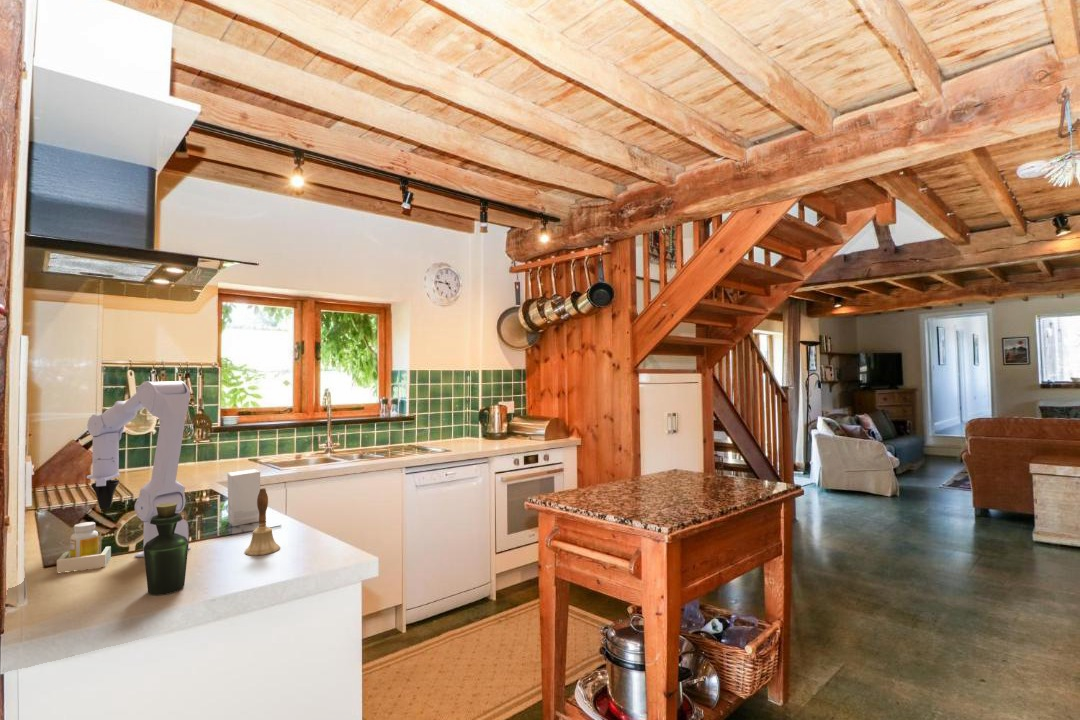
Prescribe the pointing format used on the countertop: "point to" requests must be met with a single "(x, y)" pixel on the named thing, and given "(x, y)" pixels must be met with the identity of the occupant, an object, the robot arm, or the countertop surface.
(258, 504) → the hand bell
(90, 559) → the tray
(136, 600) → the countertop surface
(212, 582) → the countertop surface
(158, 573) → the potion bottle
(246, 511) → the skincare box
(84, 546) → the supplement bottle
